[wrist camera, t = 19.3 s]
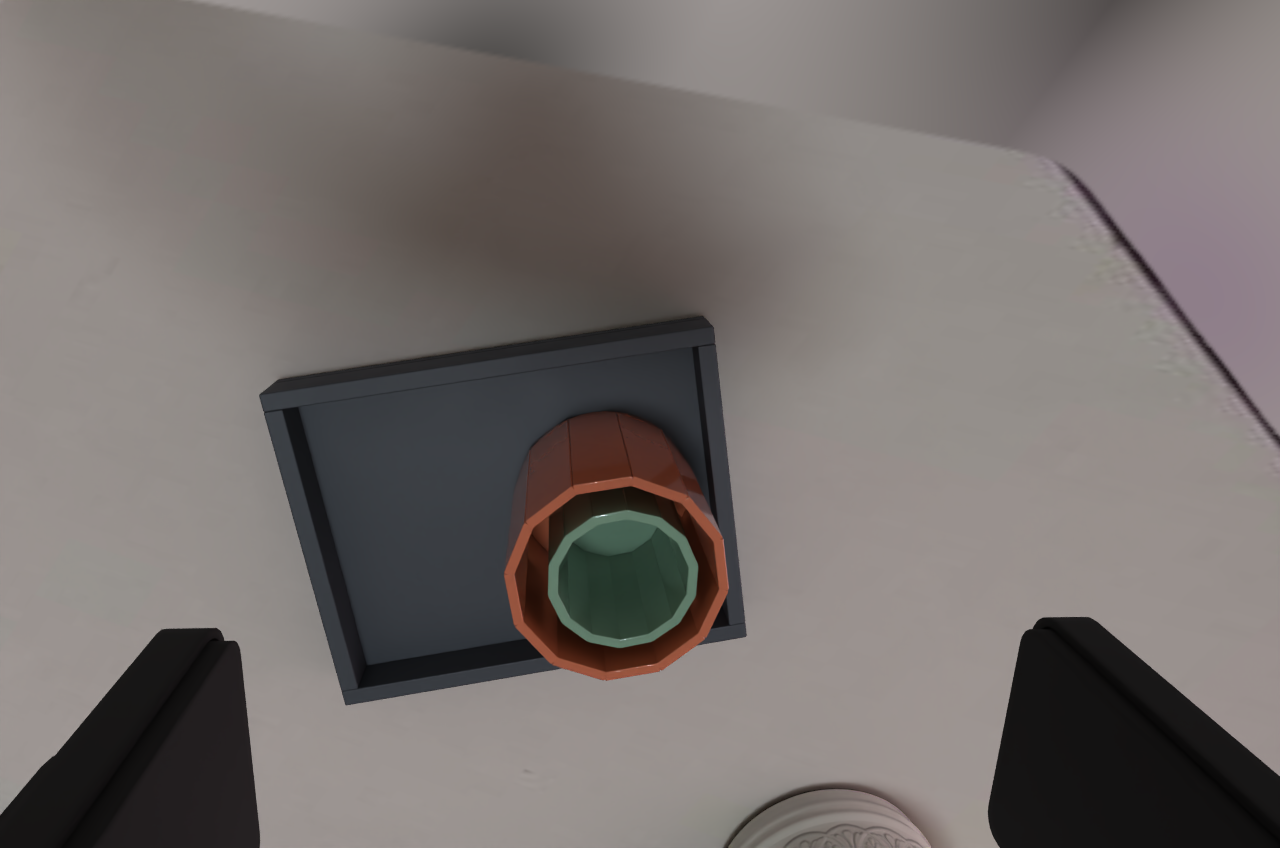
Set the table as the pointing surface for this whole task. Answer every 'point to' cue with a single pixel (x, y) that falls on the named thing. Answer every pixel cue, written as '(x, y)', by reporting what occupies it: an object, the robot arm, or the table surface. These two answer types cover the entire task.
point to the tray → (468, 489)
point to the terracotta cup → (597, 461)
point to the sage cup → (620, 566)
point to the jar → (831, 823)
